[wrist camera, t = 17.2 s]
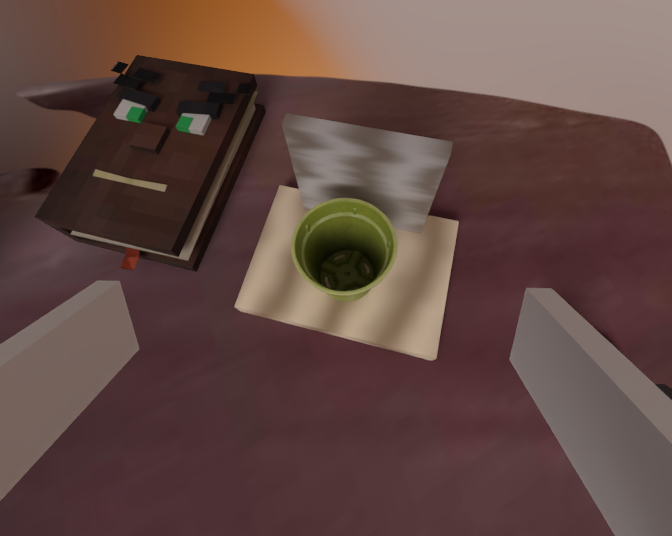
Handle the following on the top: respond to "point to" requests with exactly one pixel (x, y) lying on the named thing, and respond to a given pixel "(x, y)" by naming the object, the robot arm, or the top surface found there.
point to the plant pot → (344, 247)
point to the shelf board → (318, 307)
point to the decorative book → (158, 162)
